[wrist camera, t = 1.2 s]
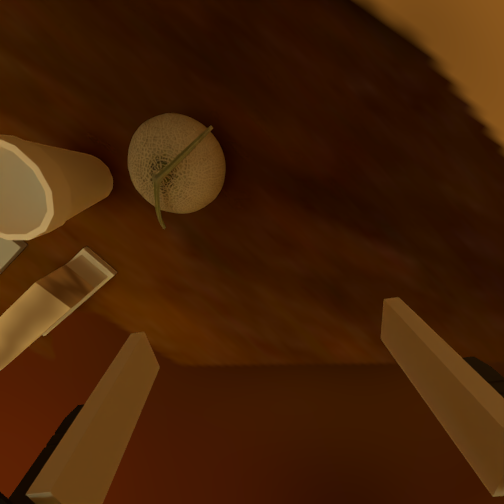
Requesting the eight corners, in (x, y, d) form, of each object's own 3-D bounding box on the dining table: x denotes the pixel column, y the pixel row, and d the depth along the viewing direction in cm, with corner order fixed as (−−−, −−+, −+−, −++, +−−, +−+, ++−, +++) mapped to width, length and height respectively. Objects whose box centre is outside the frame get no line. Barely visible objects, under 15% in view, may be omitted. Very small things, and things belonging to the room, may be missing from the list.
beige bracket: (18, 311, 41) (-7, 329, 37) (87, 246, 37) (66, 257, 32) (48, 332, 43) (27, 351, 39) (117, 272, 38) (101, 286, 34)
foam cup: (132, 162, 32) (61, 166, 20) (116, 221, 35) (47, 255, 23) (60, 128, 30) (-65, 110, 18) (50, 193, 33) (-61, 214, 21)
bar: (-1, 328, 37) (-37, 352, 33) (65, 264, 33) (35, 282, 28) (28, 346, 39) (-2, 372, 34) (94, 287, 34) (70, 308, 30)
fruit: (150, 199, 34) (82, 230, 20) (156, 111, 30) (76, 74, 16) (220, 216, 35) (201, 256, 21) (236, 133, 31) (226, 116, 17)
